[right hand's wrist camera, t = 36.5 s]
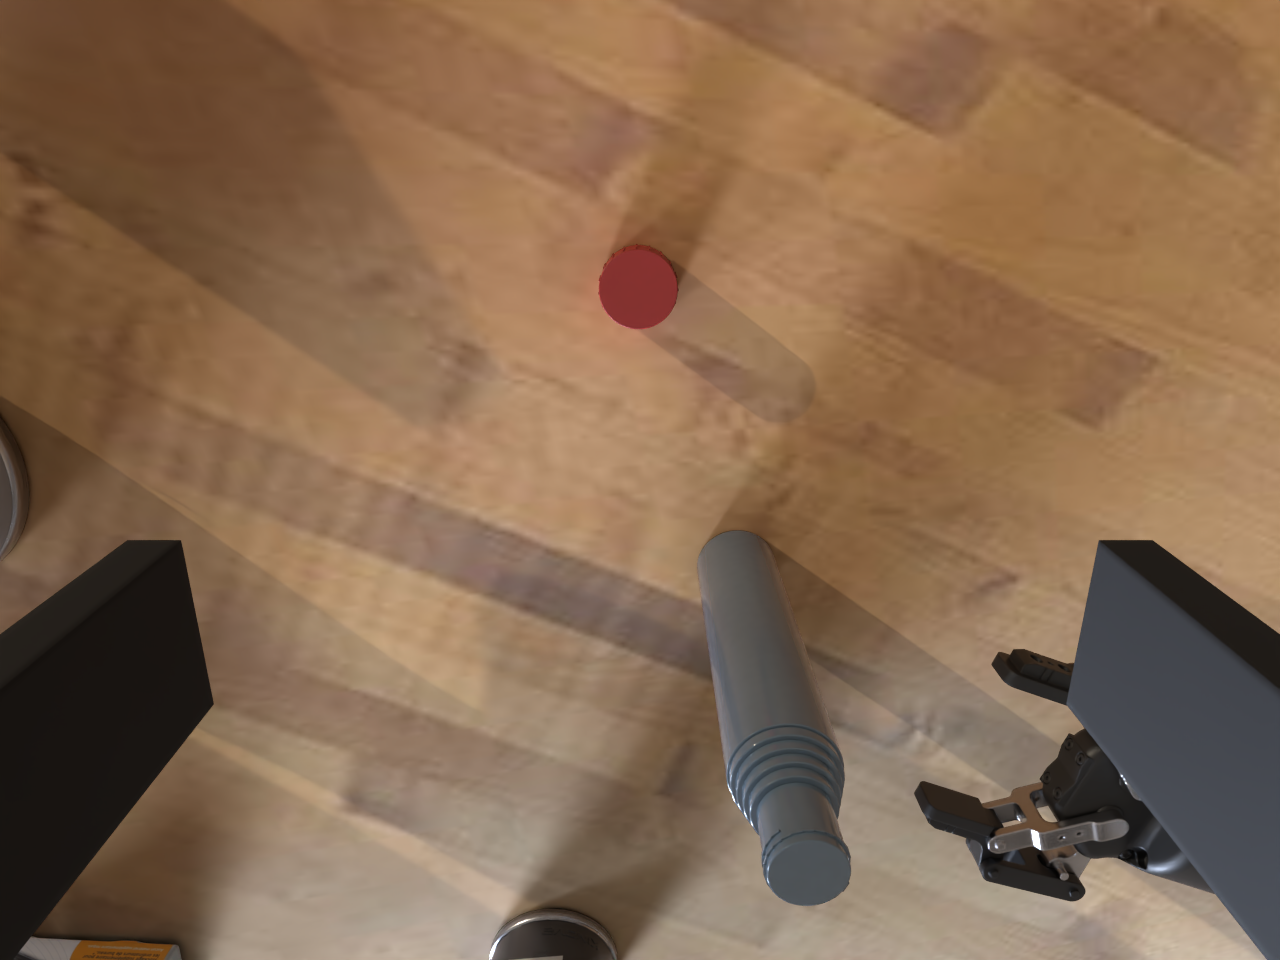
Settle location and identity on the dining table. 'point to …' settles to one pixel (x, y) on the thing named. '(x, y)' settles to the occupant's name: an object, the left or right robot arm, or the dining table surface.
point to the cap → (638, 287)
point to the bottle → (773, 721)
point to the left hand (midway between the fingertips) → (959, 734)
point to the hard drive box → (95, 950)
